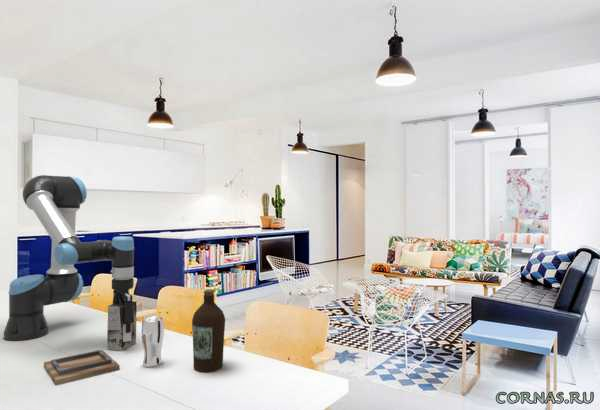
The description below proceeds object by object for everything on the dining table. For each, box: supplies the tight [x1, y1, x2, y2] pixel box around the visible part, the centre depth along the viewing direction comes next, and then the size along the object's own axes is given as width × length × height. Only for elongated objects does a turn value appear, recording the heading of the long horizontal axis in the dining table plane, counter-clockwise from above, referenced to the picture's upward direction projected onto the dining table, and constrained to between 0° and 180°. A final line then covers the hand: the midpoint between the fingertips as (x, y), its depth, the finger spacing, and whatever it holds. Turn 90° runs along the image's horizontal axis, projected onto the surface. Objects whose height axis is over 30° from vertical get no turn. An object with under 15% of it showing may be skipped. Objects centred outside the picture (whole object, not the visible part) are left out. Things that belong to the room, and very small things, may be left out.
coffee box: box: [106, 300, 138, 352], centre depth 156 cm, size 9×6×16 cm
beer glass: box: [141, 316, 165, 368], centre depth 140 cm, size 7×7×15 cm
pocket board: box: [43, 349, 120, 386], centre depth 135 cm, size 18×18×3 cm
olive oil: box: [191, 289, 226, 373], centre depth 138 cm, size 11×11×25 cm
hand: (122, 337), depth 156 cm, fingers closed on coffee box, 10 cm apart
